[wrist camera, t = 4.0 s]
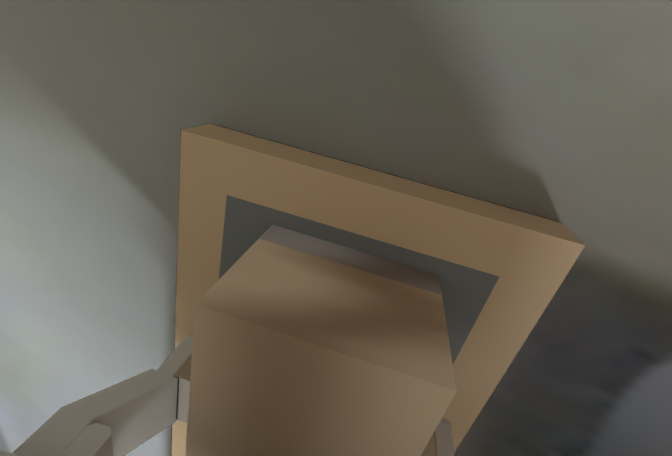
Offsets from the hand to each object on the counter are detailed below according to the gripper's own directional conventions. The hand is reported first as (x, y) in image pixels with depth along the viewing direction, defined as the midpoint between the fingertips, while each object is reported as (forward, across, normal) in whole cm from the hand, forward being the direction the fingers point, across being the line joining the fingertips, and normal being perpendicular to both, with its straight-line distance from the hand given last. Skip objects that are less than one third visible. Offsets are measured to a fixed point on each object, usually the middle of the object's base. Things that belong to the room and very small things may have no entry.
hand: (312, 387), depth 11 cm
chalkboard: (+3, 0, +5) cm, 6 cm away
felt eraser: (+1, 0, 0) cm, 1 cm away
